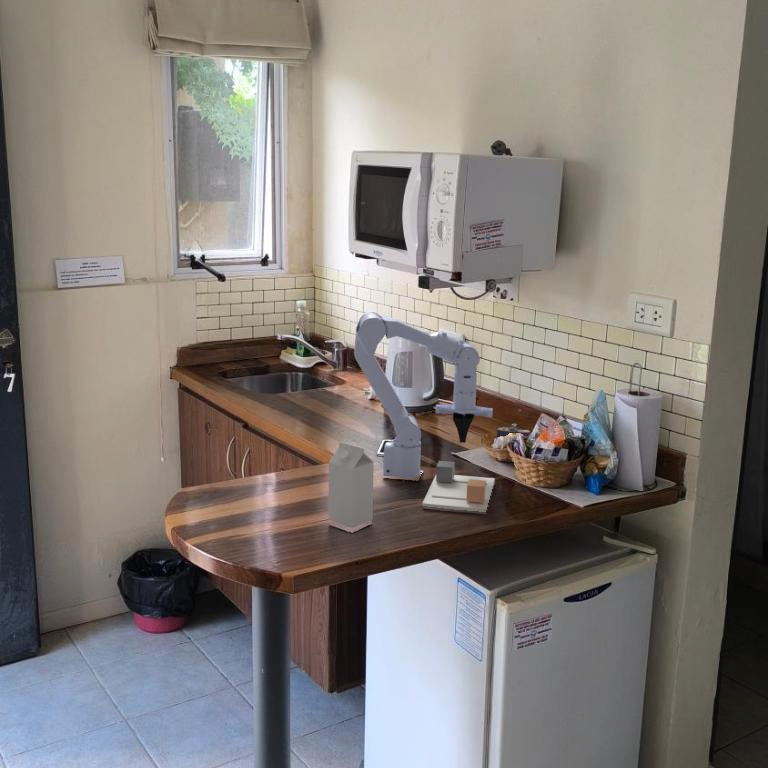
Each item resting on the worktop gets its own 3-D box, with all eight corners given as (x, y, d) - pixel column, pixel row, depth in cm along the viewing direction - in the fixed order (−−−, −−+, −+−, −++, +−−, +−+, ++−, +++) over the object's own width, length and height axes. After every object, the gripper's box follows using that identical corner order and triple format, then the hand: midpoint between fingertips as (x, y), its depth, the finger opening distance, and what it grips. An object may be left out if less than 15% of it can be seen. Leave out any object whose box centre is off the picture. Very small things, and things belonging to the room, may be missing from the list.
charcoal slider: (436, 481, 231) (436, 466, 230) (438, 475, 235) (439, 460, 234) (451, 482, 230) (452, 467, 229) (454, 477, 234) (454, 462, 233)
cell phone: (375, 457, 256) (375, 454, 255) (382, 441, 270) (382, 438, 270) (403, 458, 255) (403, 455, 254) (408, 443, 269) (408, 440, 269)
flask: (529, 460, 254) (531, 423, 251) (528, 464, 251) (530, 426, 249) (495, 458, 256) (497, 421, 253) (494, 461, 253) (496, 424, 251)
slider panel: (422, 509, 217) (422, 502, 217) (436, 478, 238) (436, 473, 238) (485, 515, 214) (486, 508, 214) (494, 483, 235) (494, 478, 235)
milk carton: (349, 517, 211) (349, 438, 207) (372, 525, 207) (374, 444, 203) (328, 526, 206) (328, 445, 202) (351, 534, 202) (352, 451, 197)
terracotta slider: (466, 501, 217) (467, 485, 216) (468, 495, 222) (469, 479, 221) (483, 502, 217) (484, 486, 216) (485, 496, 221) (485, 480, 220)
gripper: (434, 392, 233) (432, 443, 236) (491, 396, 230) (489, 448, 233) (438, 386, 240) (436, 436, 243) (494, 389, 237) (491, 440, 240)
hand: (462, 441), depth 239 cm, fingers closed
